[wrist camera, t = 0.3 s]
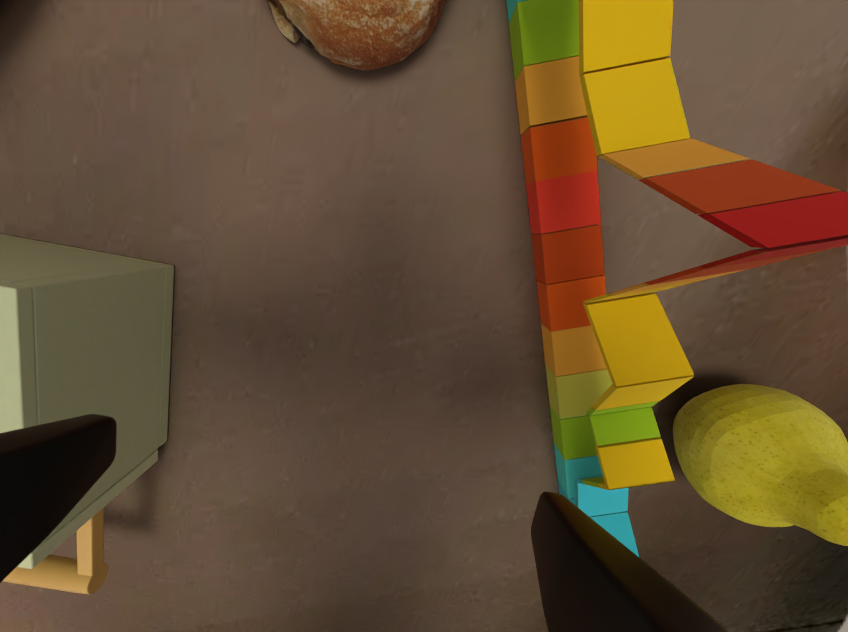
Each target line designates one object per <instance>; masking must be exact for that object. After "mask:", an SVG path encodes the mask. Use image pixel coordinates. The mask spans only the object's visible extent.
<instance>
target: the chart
mask: <svg viewBox="0 0 848 632" xmlns="http://www.w3.org/2000/svg"><path fill="white" fill-rule="evenodd" d="M673 1H674V0H506V2H507V11H508V21H509V31H510V41H511V50H512V59H513V68H514V77H515V88H516V97H517V106H518V116H519V125H520V134H521V135H522V136H521V143H522V153H523V162H524V171H525V180H526V190H527V199H528V208H529V217H530V227H531V233H533V234H531V236H532V245H533V254H534V264H535V273H536V279H537V280H536V282H537V291H538V300H539V310H540V319H541V328H542V337H543V347H544V356H545V364H546V374H547V384H548V393H549V402H550V411H551V421H552V430H553V439H554V448H555V458H556V467H557V476H558V485H559V494H561V495H563V496H565V497H566V498H567V499H568V500H570V501H571V502H572V503H573V504H574V505H576V506H577V507H578V508H579V509H581V510H582V511H583V512H584V513H585V514H587V515H588V516H589V517H590V518H592V519H593V520H594V521H595V522H596V523H598V524H599V525H600V526H601V527H603V528H604V529H605V530H606V531H607V532H609V533H610V534H611V535H612V536H614V537H615V538H616V539H617V540H618V541H620V542H621V543H622V544H623V545H625V546H626V547H627V548H628V549H629V550H631V551H632V552H633V553H634V554H636V555H637V556H638V557H639V554H638V550H637V546H636V542H635V539H634V535H633V531H632V527H631V523H630V519H629V516H628V512H627V511H628V490H629V487H636V486H643V485H651V484H658V483H665V482H672V481H674V480H675V479H674V476H673V473H672V470H671V466H670V463H669V460H668V457H667V454H666V451H665V448H664V445H663V441H662V439H661V438H660V437H661V435H660V432H659V429H658V426H657V423H656V420H655V416H654V413H653V410H652V406H654V405H655V404H656V403H658V402H659V401H661V400H662V399H663V398H665V397H666V396H668V395H669V394H670V393H672V392H673V391H675V390H676V389H677V388H679V387H680V386H682V385H683V384H684V383H686V382H687V381H689V380H690V379H691V378H693V377H694V376H693V375H694V373H693V371H692V369H691V366H690V364H689V362H688V360H687V358H686V356H685V354H684V352H683V349H682V347H681V345H680V343H679V341H678V339H677V337H676V335H675V333H674V330H673V328H672V326H671V324H670V322H669V320H668V318H667V316H666V314H665V311H664V309H663V307H662V305H661V303H660V301H659V299H658V297H657V295H656V294H655V293H652V292H657V291H661V290H665V289H669V288H673V287H678V286H682V285H686V284H690V283H694V282H698V281H702V280H706V279H710V278H714V277H718V276H722V275H726V274H731V273H735V272H739V271H743V270H747V269H751V268H755V267H759V266H763V265H767V264H771V263H775V262H780V261H784V260H788V259H792V258H796V257H800V256H804V255H808V254H812V253H816V252H820V251H824V250H828V249H833V248H837V247H841V246H845V245H848V193H847V192H844V191H842V192H835V191H841V190H839V189H836V188H833V187H830V186H827V185H824V184H821V183H818V182H815V181H813V180H810V179H807V178H804V177H801V176H798V175H795V174H792V173H790V172H787V171H784V170H781V169H778V168H775V167H772V166H769V165H767V164H764V163H761V162H758V161H755V160H748V159H749V158H746V157H744V156H741V155H738V154H735V153H732V152H729V151H726V150H723V149H721V148H718V147H715V146H712V145H709V144H706V143H703V142H700V141H698V140H695V139H689V138H690V134H689V130H688V126H687V123H686V119H685V115H684V111H683V107H682V103H681V99H680V95H679V91H678V87H677V83H676V79H675V75H674V71H673V67H672V63H671V59H670V58H667V57H669V56H670V48H671V32H672V17H673ZM666 58H667V59H666ZM600 155H601V156H600ZM596 156H599V157H600V158H602V159H603V160H605V161H607V162H609V163H610V164H612V165H614V166H615V167H617V168H619V169H620V170H622V171H624V172H625V173H627V174H629V175H630V176H632V177H634V178H635V179H640V180H639V181H641V182H643V183H644V184H646V185H648V186H649V187H651V188H653V189H655V190H656V191H658V192H660V193H661V194H663V195H665V196H666V197H668V198H670V199H671V200H673V201H675V202H676V203H678V204H680V205H681V206H683V207H685V208H686V209H688V210H690V211H692V212H693V213H695V214H700V215H698V216H700V217H702V218H703V219H705V220H707V221H708V222H710V223H712V224H713V225H715V226H717V227H718V228H720V229H722V230H723V231H725V232H727V233H729V234H730V235H732V236H734V237H735V238H737V239H739V240H740V241H742V242H744V243H745V244H747V245H749V246H750V247H760V248H763V249H757V250H751V251H747V252H744V253H740V254H737V255H734V256H731V257H727V258H724V259H721V260H717V261H714V262H711V263H708V264H704V265H701V266H699V267H694V268H691V269H688V270H685V271H681V272H678V273H675V274H672V275H668V276H665V277H662V278H658V279H655V280H652V281H649V282H645V283H642V284H639V285H635V286H632V287H629V288H625V289H622V290H619V291H616V292H612V293H609V294H606V287H605V275H604V274H605V272H604V258H603V243H602V229H601V214H600V200H599V186H598V171H597V157H596ZM743 160H746V161H743ZM738 161H741V162H738ZM732 162H735V163H732ZM727 163H729V164H727ZM721 164H724V165H721ZM715 165H718V166H715ZM710 166H712V167H710ZM704 167H707V168H704ZM698 168H701V169H698ZM693 169H695V170H693ZM687 170H690V171H687ZM681 171H684V172H681ZM676 172H678V173H676ZM670 173H673V174H670ZM664 174H667V175H664ZM659 175H661V176H659ZM653 176H656V177H653ZM647 177H650V178H647ZM642 178H645V179H642ZM829 192H830V193H829ZM704 213H705V214H704ZM612 383H613V384H612Z"/></svg>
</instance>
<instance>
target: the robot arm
mask: <svg viewBox="0 0 848 632" xmlns="http://www.w3.org/2000/svg"><path fill="white" fill-rule="evenodd" d="M116 438H117V423H116V420H115V419H114V418H113V417H109V416H104V415H98V414H88V415H83V416H79V417H74V418H69V419H65V420H60V421H55V422H50V423H46V424H41V425H36V426H31V427H27V428H22V429H17V430H13V431H8V432H3V433H0V583H1V582H2V581H3V580H4V579H5V578H6V577H7V576H8V575H9V574H10V573H11V572H12V571H13V570H14V569H15V568H16V567H17V566H18V565H19V564H20V563H21V562H22V561H23V560H24V559H25V558H27V557H28V556H29V555H30V554H31V553H32V552H33V551H34V550H35V549H36V548H37V547H38V546H39V545H40V544H41V543H42V542H43V541H44V540H45V539H46V538H47V537H48V536H49V535H50V534H51V533H52V531H53V530H54V529H55V528H56V527H57V526H58V525H59V524H60V523H61V522H62V521H63V519H64V518H65V517H66V516H67V515H68V514H69V513H70V511H71V510H72V509H73V508H74V507H75V506H76V505H77V503H78V502H79V501H80V500H81V499H82V498H83V497H84V496H85V494H86V493H87V492H88V491H89V490H90V489H91V488H92V486H93V485H94V484H95V483H96V482H97V481H98V480H99V478H100V477H101V476H102V475H103V474H104V473H105V472H106V470H107V469H108V468H109V467H110V466H111V464H112V463H113V461H114V459H115V456H116ZM531 537H532V543H533V549H534V555H535V561H536V568H537V574H538V580H539V586H540V592H541V598H542V604H543V609H544V614H545V618H546V622H547V627H548V630H549V632H727V629H726V628H725V627H724V626H723V625H721V624H720V623H719V622H718V621H716V620H715V619H714V618H713V617H712V616H710V615H709V614H708V613H707V612H705V611H704V610H703V609H702V608H701V607H699V606H698V605H697V604H696V603H694V602H693V601H692V600H691V599H689V598H688V597H687V596H686V595H685V594H683V593H682V592H681V591H680V590H678V589H677V588H676V587H675V586H674V585H672V584H671V583H670V582H669V581H667V580H666V579H665V578H664V577H663V576H661V575H660V574H659V573H658V572H656V571H655V570H654V569H653V568H652V567H650V566H649V565H648V564H647V563H645V562H644V561H643V560H642V559H641V558H639V557H638V556H637V555H636V554H634V553H633V552H632V551H631V550H629V549H628V548H627V547H626V546H625V545H623V544H622V543H621V542H620V541H618V540H617V539H616V538H615V537H614V536H612V535H611V534H610V533H609V532H607V531H606V530H605V529H604V528H603V527H601V526H600V525H599V524H598V523H596V522H595V521H594V520H593V519H592V518H590V517H589V516H588V515H587V514H585V513H584V512H583V511H582V510H581V509H579V508H578V507H577V506H576V505H574V504H573V503H572V502H571V501H570V500H568V499H567V498H566V497H565V496H563V495H561V494H558V493H552V492H543V493H542V494H541V495H540V498H539V501H538V504H537V508H536V511H535V515H534V518H533V522H532V526H531Z"/></svg>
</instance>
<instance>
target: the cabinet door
mask: <svg viewBox="0 0 848 632" xmlns="http://www.w3.org/2000/svg"><path fill="white" fill-rule="evenodd" d="M157 461H158V450H157V449H156V450H155V451H154V452H153V453H151V454H150V455H149V456H148V457H147V458H145V459H144V460H143V461H142V462H140V463H139V464H138V465H137V466H136V467H134V468H133V469H132V470H131V471H130V472H128V473H127V474H126V475H125V476H123V477H122V478H121V479H120V480H119V481H117V482H116V483H115V484H114V485H112V486H111V487H110V488H109V489H108V490H106V491H105V492H104V493H103V494H101V495H100V496H99V497H98V498H97V499H95V500H94V501H93V502H92V503H90V504H89V505H88V506H87V507H86V508H84V509H83V510H82V511H81V512H79V513H78V514H77V515H76V516H75V517H73V518H72V519H71V520H70V521H68V522H67V523H66V524H65V525H64V526H62V527H61V528H60V529H59V530H57V531H56V532H55V533H54V534H53V535H51V536H50V537H49V538H48V539H46V540H45V541H44V542H42V543H41V545H39V546H38V547H37V548H36V549H35V550H34V551H33V552H32V553H31V554H30V555H29V556H28V557H27V558H25V559H24V560H23V561H22V562H21V563H20V564H19V565H18V566H17V567H16V568H15V569H14V570H13V571H12V572H11V573H10V574H9V575H8V576H7V577H6V578H5V579H4V580H3V582H9V583H16V584H22V585H29V586H35V587H42V588H49V589H55V590H62V591H68V592H75V593H81V594H88V595H90V594H93V593H94V592H95V591H97V590H98V588H99V587H100V586H101V585H102V583H103V581H104V580H105V578H106V575H107V572H108V565H107V564H106V563H104V507H105V506H106V505H107V504H108V503H109V502H110V501H112V500H113V499H114V498H115V497H116V496H117V495H119V494H120V493H121V492H122V491H123V490H124V489H126V488H127V487H128V486H129V485H130V484H131V483H132V482H134V481H135V480H136V479H137V478H138V477H139V476H141V475H142V474H143V473H144V472H145V471H146V470H147V469H149V468H150V467H151V466H152V465H153V464H154V463H156V462H157ZM76 531H77V559H75V558H68V557H62V556H55V555H49V554H50V553H51V552H53V551H54V550H55V549H56V548H57V547H58V546H60V545H61V544H62V543H63V542H64V541H65V540H66V539H68V538H69V537H70V536H71V535H72V534H73V533H75V532H76Z"/></svg>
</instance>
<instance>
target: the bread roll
mask: <svg viewBox="0 0 848 632" xmlns="http://www.w3.org/2000/svg"><path fill="white" fill-rule="evenodd" d="M444 1H445V0H268V2H269V4H270V7H271V9H272V14H273V17H274V19H275V21H276V23H277V25H278V28H279V30H280V31H281V32H282V33H283V35H284V36H285V37H287V38H288V39H289V40H291V41H292V42H294V43H295V42H296V41H297V40H298V39H299V38H300V39H302V40H303V41H304V42H305V43H306V44H308V45H309V46H310V47H312V48H313V49H315V50H316V51H318V52H319V54H320V55H322V56H324V57H326V58H328V59H330V60H331V61H332V62H333V63H335V64H340V65H345V66H348V67H351V68H354V69H360V70H372V69H377V68H381V67H385V66H389V65H392V64H394V63H397V62H399V61H401V60H403V59H404V58H406V57H407V56H409V55H410V54H411V53H412V52H414V51H415V50H416V49H417V48H419V47H420V46H421V45H422V44H424V43H425V42H426V40H427V39H428V38H429V37H430V35H431V34H432V32H433V31H434V29H435V25H436V23H437V21H438V19H439V18H440V16H441V12H442V7H443V5H444Z"/></svg>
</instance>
